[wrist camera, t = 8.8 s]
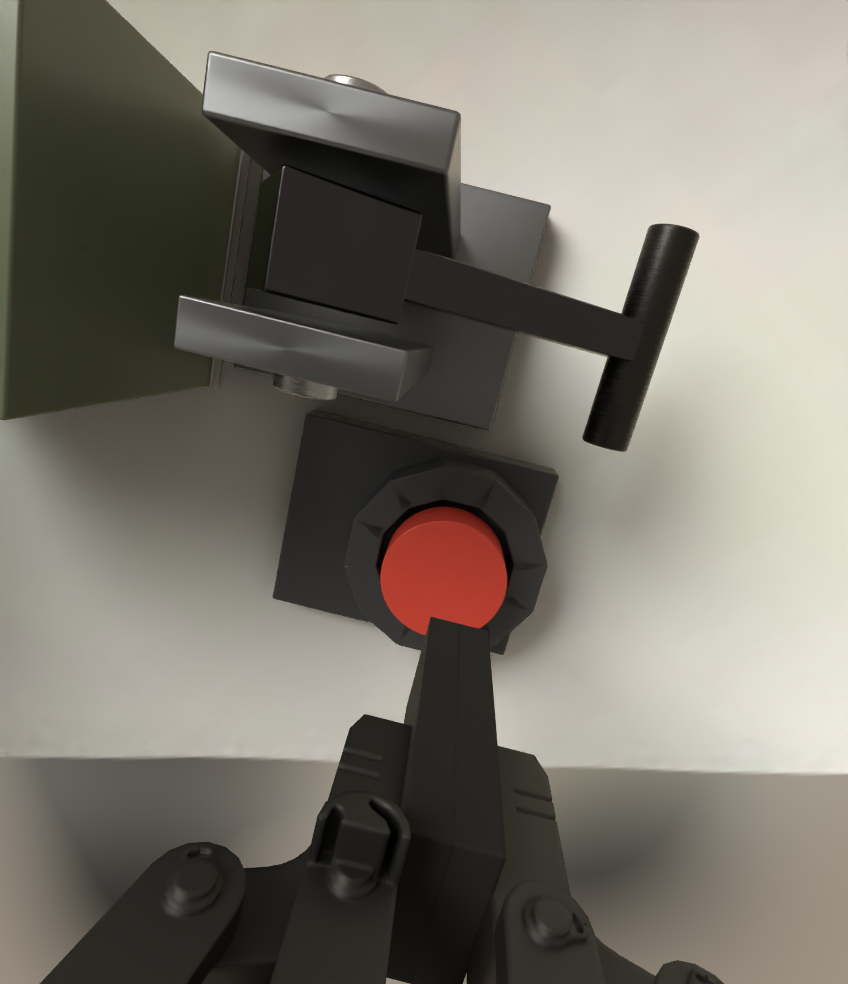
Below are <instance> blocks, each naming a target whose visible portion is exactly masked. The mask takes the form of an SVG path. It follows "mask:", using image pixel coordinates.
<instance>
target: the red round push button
mask: <svg viewBox="0 0 848 984" xmlns="http://www.w3.org/2000/svg"><path fill="white" fill-rule="evenodd" d="M380 582H381V589H382V593H383V597H384V599H385V601H386V604H387V605H388V607H389V609H390V610H391V612H392V613H393V614H394V616H395V617H396V618H397V619H398V620H399V621H400V622H401V623H403V624H404V625H405V626H407V627H408V628H410V629H412V630H413V631H415V632H418V633H420V634H423V635H426V632H427V628H428V625H429V621H430V617H435V618H439V619H443V620H447V621H451V622H455V623H459V624H463V625H467V626H471V627H475V628H479V629H480V628H481V627H483V626H484V625H485V624H486V623H488V622H489V621H490V620H491V619H492V618H493V617H494V616H495V614H496V613H497V611H498V610H499V608H500V607H501V605H502V603H503V600H504V597H505V594H506V589H507V571H506V566H505V561H504V557H503V552H502V548H501V545H500V542H499V540H498V538H497V536H496V534H495V533H494V532H493V530H492V529H491V528H490V527H489V526H488V524H487V523H485V522H484V521H483V520H482V519H481V518H479V517H477V516H476V515H474V514H472V513H470V512H468V511H465V510H462V509H459V508H453V507H435V508H430V509H426V510H423V511H420V512H418V513H416V514H414V515H413V516H411V517H410V518H408V519H407V520H406V521H404V522H403V523H402V524H401V525H400V526H399V528H398V529H397V530H396V532H395V533H394V535H393V536H392V538H391V541H390V543H389V546H388V548H387V551H386V554H385V557H384V560H383V563H382V567H381V573H380Z"/></svg>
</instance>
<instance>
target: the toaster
mask: <svg viewBox="0 0 848 984" xmlns="http://www.w3.org/2000/svg"><path fill="white" fill-rule="evenodd" d="M202 100H203V94H202V93H201V92H200V91H199V90H198V89H197V88H196V87H195V86H194V85H193V84H192V83H191V82H189V81H188V80H187V79H186V78H185V77H184V76H183V75H182V74H181V73H180V72H179V71H178V70H177V69H176V68H175V67H174V66H173V65H172V64H171V63H170V62H169V61H168V60H167V59H166V58H165V57H164V56H163V55H162V54H161V53H160V52H159V51H157V50H156V49H155V48H154V47H153V46H152V45H151V44H150V43H149V42H148V41H147V40H146V39H145V38H144V37H143V36H142V35H141V34H140V33H139V32H138V31H137V30H136V29H135V28H134V27H133V26H132V25H131V24H130V23H129V22H128V21H127V20H125V19H124V18H123V17H122V16H121V15H120V14H119V13H118V12H117V11H116V10H115V9H114V8H113V7H112V6H111V5H110V4H109V3H108V2H107V1H106V0H0V420H10V419H16V418H22V417H28V416H34V415H40V414H46V413H52V412H58V411H64V410H70V409H76V408H82V407H87V406H93V405H99V404H105V403H111V402H117V401H123V400H129V399H135V398H141V397H147V396H153V395H159V394H165V393H171V392H177V391H182V390H188V389H194V388H200V387H201V388H205V389H209V390H210V389H216V388H218V387H219V380H220V372H221V365H222V360H221V359H217V358H212V357H208V356H204V355H200V354H196V353H192V352H188V351H184V350H180V349H176V348H175V347H174V346H173V343H174V334H175V326H176V317H177V309H178V300H179V296H180V295H187V296H193V297H199V298H204V299H210V300H216V301H221V302H227V303H230V300H231V293H232V286H233V279H234V272H235V264H236V257H237V250H238V243H239V236H240V229H241V221H242V214H243V207H244V200H245V193H246V185H247V178H248V171H249V164H250V156H249V155H248V154H246V153H245V152H244V151H243V150H242V149H241V148H240V147H239V146H238V145H236V144H235V143H234V142H233V141H232V140H231V139H230V138H229V137H227V136H226V135H225V134H224V133H223V132H222V131H221V130H220V129H218V128H217V127H216V126H215V125H214V124H213V123H212V122H211V121H209V120H208V119H207V118H206V117H205V116H204V115H203V114H202V109H201V108H202Z"/></svg>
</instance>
